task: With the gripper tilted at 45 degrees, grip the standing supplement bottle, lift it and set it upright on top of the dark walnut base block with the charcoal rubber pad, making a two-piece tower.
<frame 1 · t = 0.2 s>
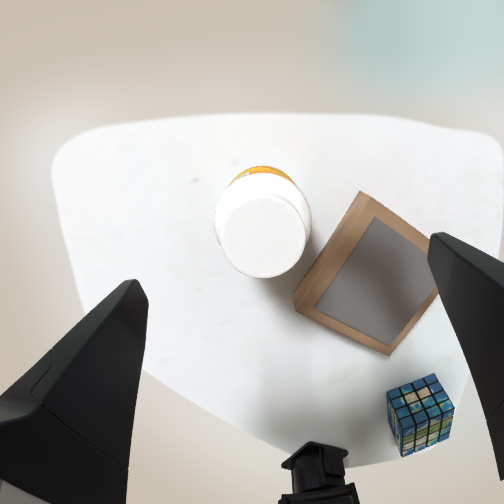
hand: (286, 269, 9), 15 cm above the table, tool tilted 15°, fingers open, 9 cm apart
puzzle: (410, 397, 31), on the table
base block: (373, 273, 25), on the table
supplement bottle: (262, 200, 24), on the table
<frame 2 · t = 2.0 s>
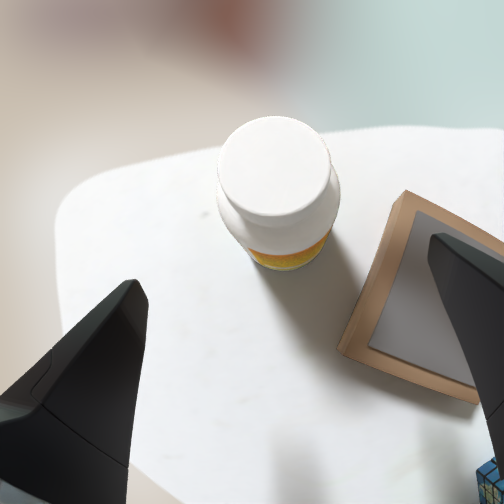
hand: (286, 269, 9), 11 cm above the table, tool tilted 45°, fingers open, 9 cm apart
base block: (433, 303, 18), on the table
supplement bottle: (284, 229, 20), on the table
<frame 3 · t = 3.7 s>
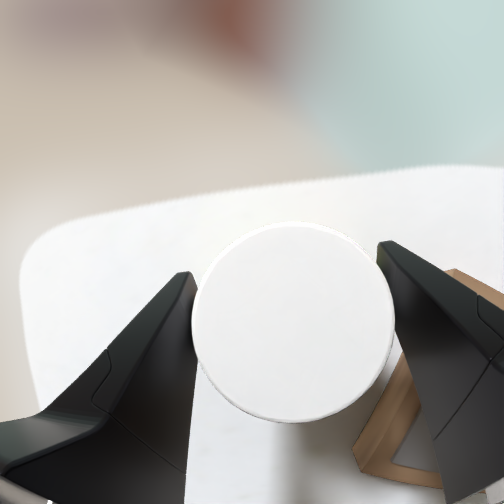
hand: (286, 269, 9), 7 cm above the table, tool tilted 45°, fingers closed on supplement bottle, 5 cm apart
base block: (465, 391, 13), on the table
supplement bottle: (293, 312, 15), on the table, touching gripper
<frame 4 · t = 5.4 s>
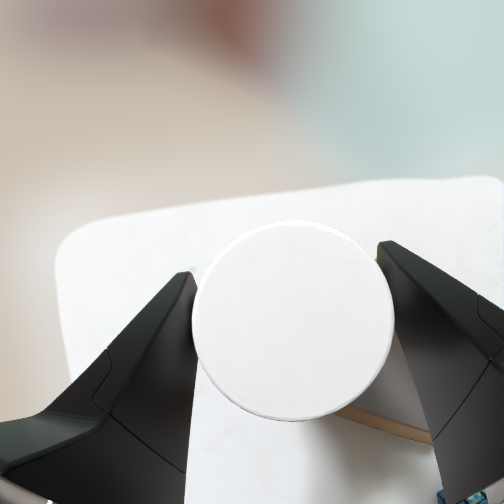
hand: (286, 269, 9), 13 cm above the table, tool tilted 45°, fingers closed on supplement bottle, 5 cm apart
puzzle: (466, 493, 17), on the table
base block: (400, 354, 20), on the table
supplement bottle: (292, 311, 15), point 6 cm above the table, touching gripper
when the fingers open (10 cm above the table, at t = 7.1 s): supplement bottle stays where it is, resting on base block.
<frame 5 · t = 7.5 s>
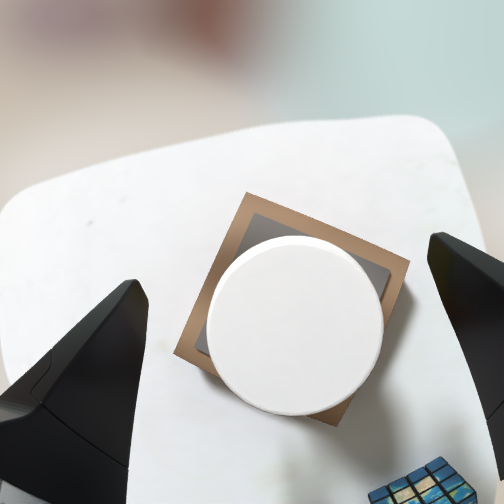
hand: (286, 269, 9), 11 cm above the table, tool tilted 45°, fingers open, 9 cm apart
puzzle: (412, 498, 16), on the table
base block: (293, 310, 19), on the table
supplement bottle: (293, 315, 16), point 3 cm above the table, touching base block
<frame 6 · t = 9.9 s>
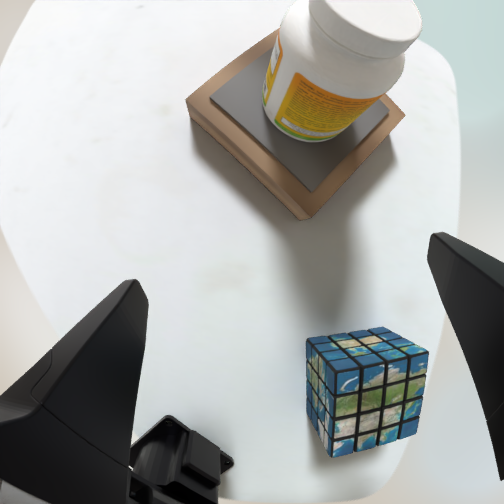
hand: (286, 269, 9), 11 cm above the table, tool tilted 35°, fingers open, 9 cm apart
puzzle: (344, 369, 21), on the table
base block: (295, 117, 20), on the table
supplement bottle: (305, 103, 17), point 3 cm above the table, touching base block
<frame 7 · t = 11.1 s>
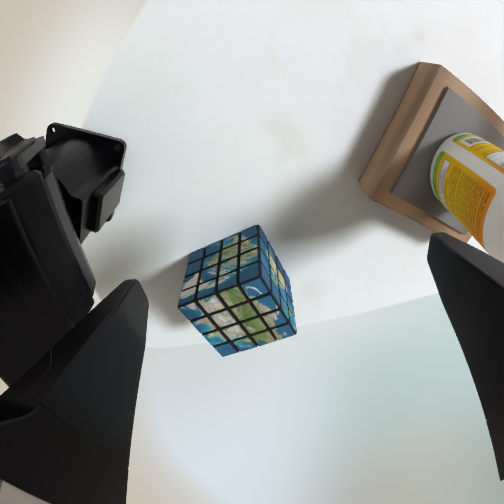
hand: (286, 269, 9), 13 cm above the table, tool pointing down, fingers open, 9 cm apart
puzzle: (241, 265, 26), on the table
base block: (441, 153, 20), on the table
supplement bottle: (458, 168, 17), point 3 cm above the table, touching base block
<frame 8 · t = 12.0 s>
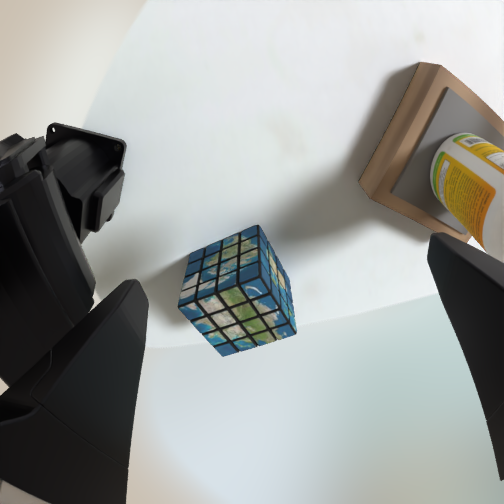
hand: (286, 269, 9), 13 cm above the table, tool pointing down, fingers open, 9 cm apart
puzzle: (241, 265, 26), on the table
base block: (441, 153, 20), on the table
supplement bottle: (458, 168, 17), point 3 cm above the table, touching base block
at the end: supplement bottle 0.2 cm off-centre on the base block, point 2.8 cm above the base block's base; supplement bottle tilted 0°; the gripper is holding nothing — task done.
